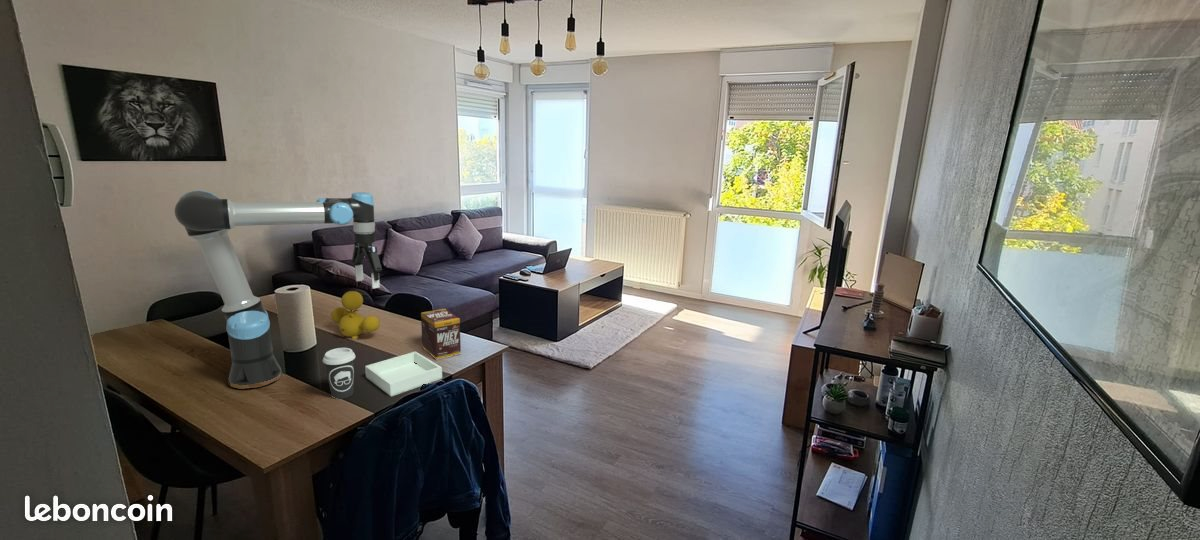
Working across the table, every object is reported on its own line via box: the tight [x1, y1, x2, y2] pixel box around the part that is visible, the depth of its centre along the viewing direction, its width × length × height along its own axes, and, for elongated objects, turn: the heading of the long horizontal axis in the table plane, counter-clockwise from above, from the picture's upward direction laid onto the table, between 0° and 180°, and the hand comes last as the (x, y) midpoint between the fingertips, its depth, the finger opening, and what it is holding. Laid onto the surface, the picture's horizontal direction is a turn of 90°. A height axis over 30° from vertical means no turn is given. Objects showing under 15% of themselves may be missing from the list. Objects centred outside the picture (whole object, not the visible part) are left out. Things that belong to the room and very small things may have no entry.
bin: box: [364, 351, 443, 397], centre depth 175 cm, size 19×19×4 cm
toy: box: [330, 290, 381, 340], centre depth 207 cm, size 26×10×20 cm, turn 63°
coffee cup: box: [322, 347, 356, 400], centre depth 161 cm, size 10×10×15 cm
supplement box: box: [420, 308, 462, 359], centre depth 197 cm, size 10×15×16 cm
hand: (367, 284), depth 196 cm, fingers open, 13 cm apart
